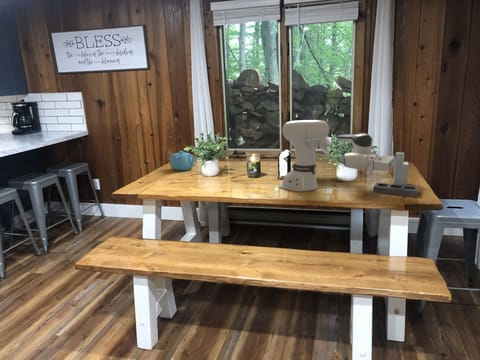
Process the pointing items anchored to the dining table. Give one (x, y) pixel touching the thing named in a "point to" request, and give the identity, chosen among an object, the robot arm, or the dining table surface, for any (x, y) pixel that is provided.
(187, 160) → the decorative pot
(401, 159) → the clip
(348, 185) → the dining table surface
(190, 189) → the dining table surface
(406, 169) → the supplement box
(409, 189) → the compartment tray
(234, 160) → the dining table surface
